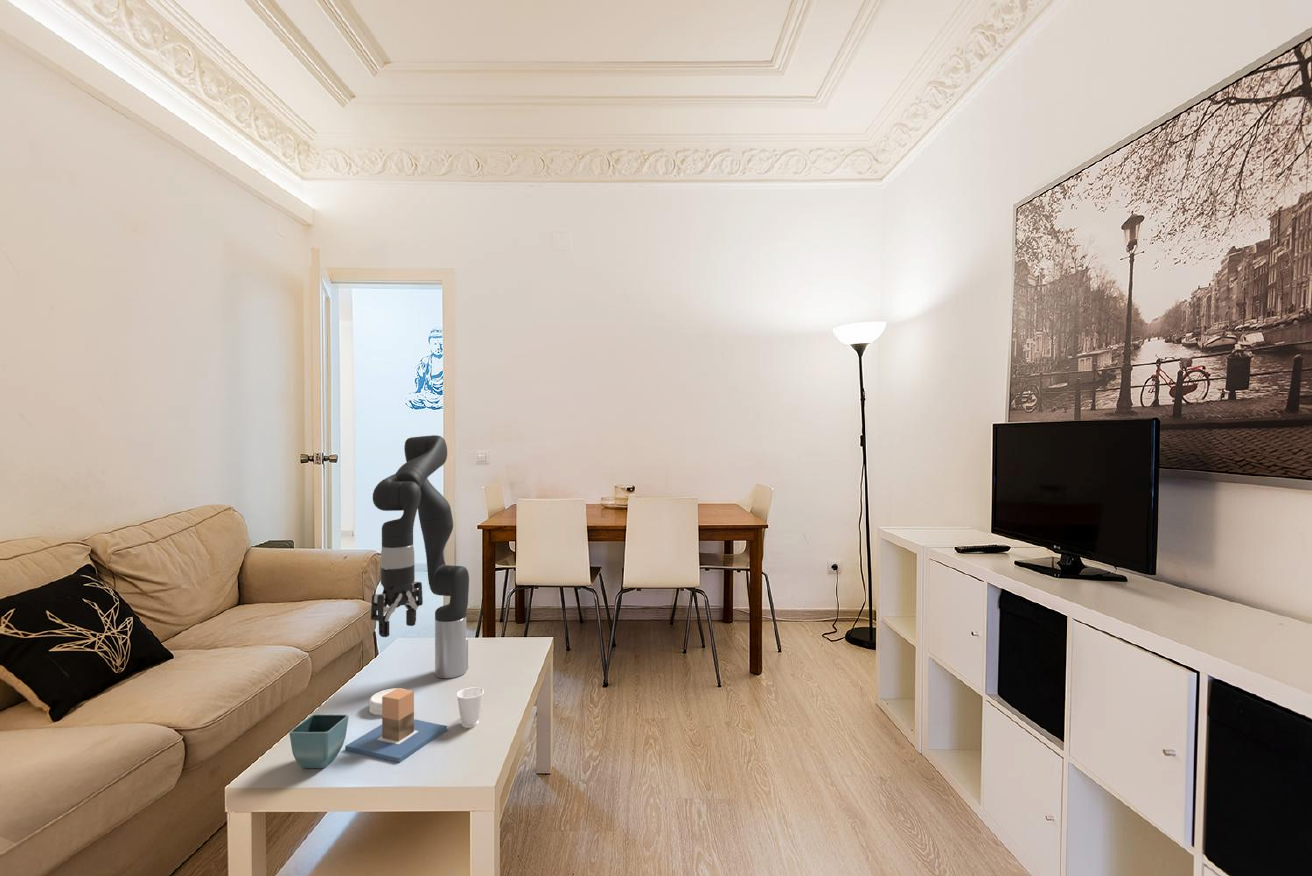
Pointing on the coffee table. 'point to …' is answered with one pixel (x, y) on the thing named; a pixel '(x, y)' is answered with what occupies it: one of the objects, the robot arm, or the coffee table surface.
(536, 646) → the coffee table surface
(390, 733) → the walnut block
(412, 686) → the coffee table surface
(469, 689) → the cup
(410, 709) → the terracotta block
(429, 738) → the board
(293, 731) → the flower pot
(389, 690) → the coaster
